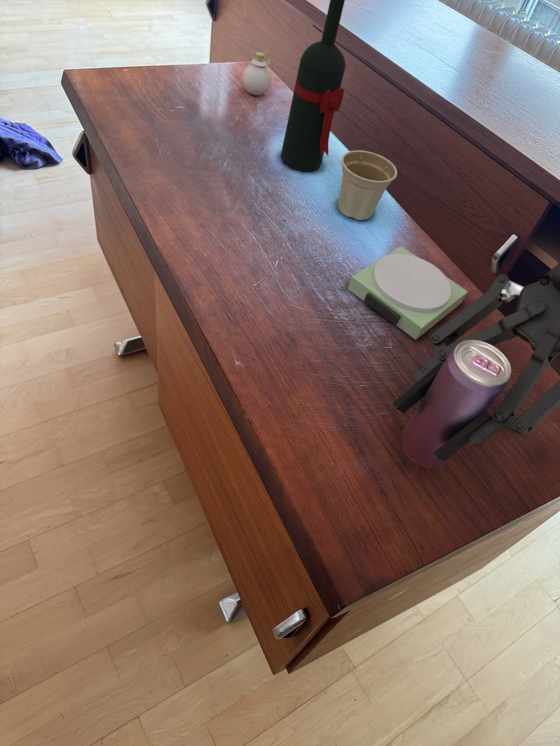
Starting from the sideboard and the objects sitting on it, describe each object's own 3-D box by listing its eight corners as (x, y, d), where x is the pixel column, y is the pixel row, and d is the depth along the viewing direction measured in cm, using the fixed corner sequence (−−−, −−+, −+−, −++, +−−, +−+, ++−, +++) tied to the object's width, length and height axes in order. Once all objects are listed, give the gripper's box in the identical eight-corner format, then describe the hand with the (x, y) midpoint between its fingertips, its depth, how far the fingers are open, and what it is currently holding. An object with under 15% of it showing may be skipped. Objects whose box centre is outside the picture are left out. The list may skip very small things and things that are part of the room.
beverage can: (438, 480, 62) (503, 396, 51) (390, 450, 63) (443, 363, 52) (457, 444, 66) (521, 359, 54) (411, 417, 67) (464, 328, 56)
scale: (461, 303, 88) (470, 287, 86) (413, 342, 81) (421, 325, 78) (396, 257, 93) (402, 241, 90) (344, 290, 85) (350, 273, 83)
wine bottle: (301, 182, 102) (345, -7, 80) (272, 152, 107) (307, -35, 85) (336, 175, 106) (388, -7, 83) (306, 147, 111) (348, -33, 88)
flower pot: (346, 188, 104) (359, 143, 97) (390, 212, 101) (406, 168, 95) (318, 207, 98) (331, 162, 92) (364, 233, 96) (380, 188, 89)
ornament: (261, 86, 124) (268, 37, 117) (276, 103, 120) (285, 53, 113) (236, 87, 122) (242, 37, 114) (251, 104, 118) (258, 53, 110)
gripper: (685, 356, 53) (486, 509, 57) (535, 234, 62) (375, 375, 67) (698, 331, 46) (473, 506, 51) (529, 200, 55) (352, 358, 60)
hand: (418, 432), depth 59 cm, fingers closed on beverage can, 6 cm apart
